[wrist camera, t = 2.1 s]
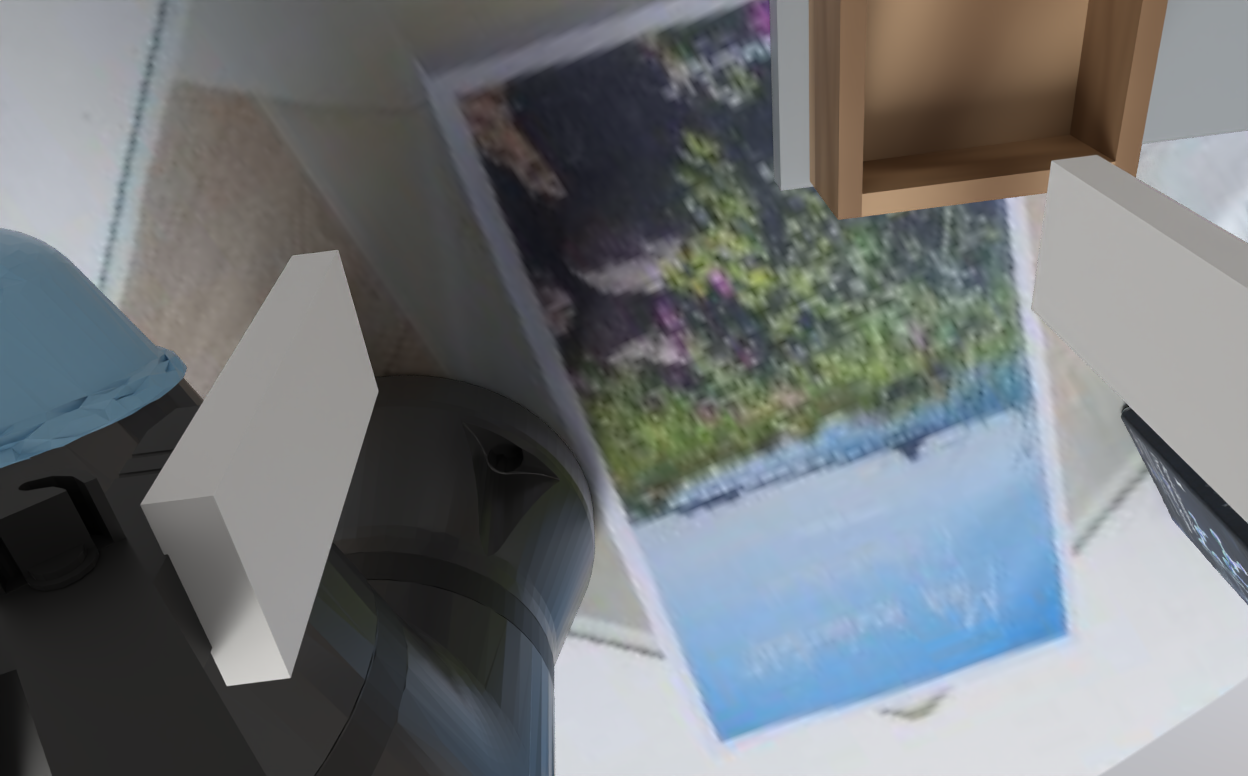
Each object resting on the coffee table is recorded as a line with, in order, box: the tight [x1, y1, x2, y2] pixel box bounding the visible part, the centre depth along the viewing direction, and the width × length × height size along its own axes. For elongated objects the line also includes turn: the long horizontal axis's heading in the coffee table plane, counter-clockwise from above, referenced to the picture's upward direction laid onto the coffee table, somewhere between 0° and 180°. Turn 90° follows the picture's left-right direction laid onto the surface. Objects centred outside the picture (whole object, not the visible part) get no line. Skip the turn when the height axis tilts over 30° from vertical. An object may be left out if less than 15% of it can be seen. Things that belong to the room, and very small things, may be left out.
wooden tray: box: [809, 0, 1168, 220], centre depth 29 cm, size 10×10×4 cm
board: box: [769, 0, 1248, 191], centre depth 29 cm, size 22×10×5 cm, turn 96°
